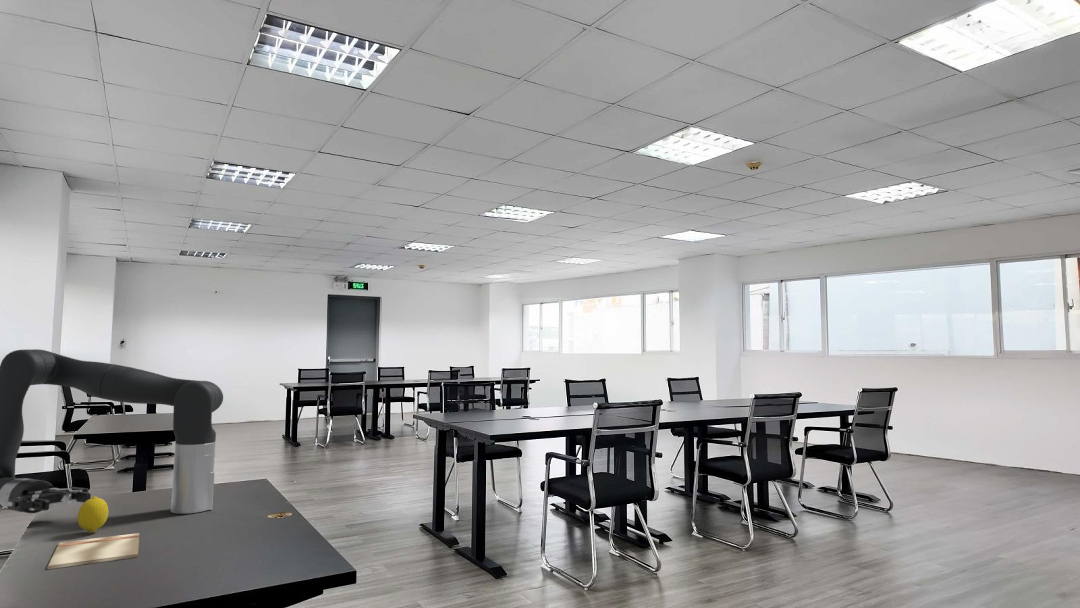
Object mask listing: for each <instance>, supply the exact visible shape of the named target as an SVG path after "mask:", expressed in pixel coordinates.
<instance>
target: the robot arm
mask: <svg viewBox="0 0 1080 608" xmlns="http://www.w3.org/2000/svg"><path fill="white" fill-rule="evenodd" d="M35 385H48V386H61V387H69V388H73V389H76V390H79V391H81V392H83V393H85V394H87V395H89V396H91V397H94V398H98V399H101V400H108V401H113V402H119V403H125V404H126V403H128V404H140V405H141V404H142V405H143V404H144V405H147V404H149V405H150V404H151V405H164V406H170V407H173V415H172V417H173V418H172V419H173V420H172V421H173V422H172V431H173V434H174V437H175V442H174V443H175V444H174V455H173V456H174V457H173V471H172V486H171V501H170V513H172V514H183V515H184V514H196V513H200V512H205V511H211V510H213V502H214V487H215V456H216V455H215V454H216V453H215V452H216V442H217V441H216V440H217V439H216V438H217V432H216V430H215V429H214V428H213V425H212V417H213V415H212V413H214V412H215V411H217V410H218V409H219V408H220V407H221V405H222V404H223V401H224V393H223V391H222V389H221V388H220V387H219V386H218V385H217V384H216V383H214V382H212V381H208V380H196V379H195V380H194V379H185V378H175V377H172V376H171V377H170V376H165V375H163V374H159V373H155V372H151V371H148V370H144V369H140V368H136V367H130V366H125V365H121V364H115V363H107V362H102V361H101V362H100V361H89V360H80V359H76V358H73V357H69V356H65V355H62V354H58V353H55V352H52V351H48V350H45V349H40V348H39V349H38V348H37V349H36V348H35V349H17V350H13V351H11V352H9V353H8V354H6V355H5V356H4V358H3V359H2V360H1V363H0V508H4V509H7V510H10V511H14V512H15V511H16V512H19V513H26V514H37V513H39V512H42V511H43V512H46V511H49V509H50V507H51V506H52V507H53V506H55V505H68V504H70V503H72V502H75V503H76V502H77V503H82V504H83V503H84V502H85V501H87V500H89V499H91V495H92V494H91V493H90V492H89V488H86V487H78V486H70V487H69V488H58V487H54V486H53V484H52V483H50V482H49V481H47V480H43V479H41V480H40V479H34V478H27V477H26V478H24V477H22V478H17V477H16V459H17V456H18V453H19V450H20V446H21V444H22V442H23V437H24V432H25V426H24V424H25V423H24V418H23V404H24V401H25V397H26V394H27V392H28V391H29V388H30V387H31V386H35ZM63 499H64V500H63Z"/></svg>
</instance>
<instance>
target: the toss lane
mask: <svg viewBox="0 0 1080 608" xmlns="http://www.w3.org/2000/svg"><path fill="white" fill-rule="evenodd" d="M139 546H140V532H137V533H129V534H127V533H126V534H122V535H111V536H104V537H95V538H87V539H86V538H85V539H79V540H78V539H77V540H71V541H70V540H69V541H61V542H60V541H59V543H58V545H57V547H56V548H55V550H54V553H53V555H52V557H51V559H50V560H49V563H48V565H47V566H46V570H53V569H60V568H68V567H77V566H83V565H89V564H90V565H91V564H98V563H106V562H112V561H120V560H125V559H127V560H128V559H134V558H138V557H139Z"/></svg>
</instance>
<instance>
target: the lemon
mask: <svg viewBox="0 0 1080 608" xmlns="http://www.w3.org/2000/svg"><path fill="white" fill-rule="evenodd" d="M108 517H109V507H108V504H107V502H106V500H104V499H102V498H101V497H98V496H95V495H94V496H92V497H90V499H89V500H87V501H85V502H84V503H83V502H82V504H81V506H80V508H79V510H78V513H77V523H78V526H79V527H80V528H81V529H82V530H84V531H86V532H88V533H89V534H93V533H95V532H96V531H97V530H98V529H100V528H101V527H103V526H104V525H105V523H106V522H107V520H108Z"/></svg>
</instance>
